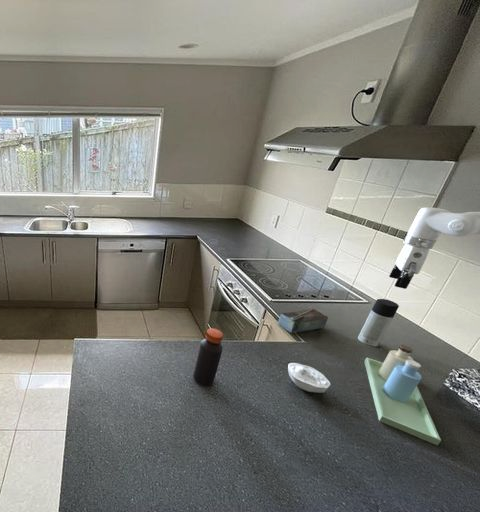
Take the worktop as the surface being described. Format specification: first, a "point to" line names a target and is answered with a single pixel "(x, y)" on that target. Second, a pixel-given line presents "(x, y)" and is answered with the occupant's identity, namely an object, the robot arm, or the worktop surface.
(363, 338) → the spray can
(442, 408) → the worktop surface
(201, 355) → the vinegar
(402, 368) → the pale blue bottle
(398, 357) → the cream bottle
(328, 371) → the worktop surface
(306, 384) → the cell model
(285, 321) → the beverage carton
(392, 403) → the tray
